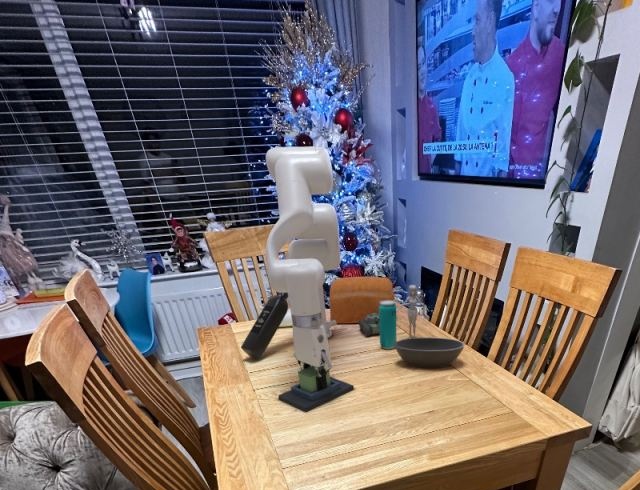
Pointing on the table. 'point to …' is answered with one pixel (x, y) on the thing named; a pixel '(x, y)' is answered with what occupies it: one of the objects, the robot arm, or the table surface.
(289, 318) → the earbud case
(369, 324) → the toy tank
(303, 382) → the green block
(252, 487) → the table surface
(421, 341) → the bowl
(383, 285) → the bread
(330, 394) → the black pad
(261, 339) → the wine bottle
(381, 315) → the beverage can
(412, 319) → the human figurine
